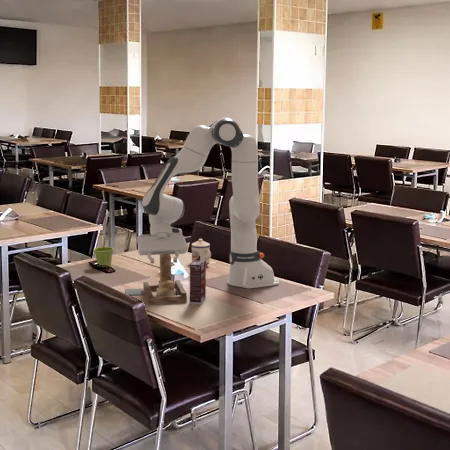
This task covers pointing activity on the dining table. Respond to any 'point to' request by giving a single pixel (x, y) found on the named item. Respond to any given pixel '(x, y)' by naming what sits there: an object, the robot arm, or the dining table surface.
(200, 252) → the teacup with lid
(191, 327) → the dining table surface
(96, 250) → the plant pot
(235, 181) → the robot arm
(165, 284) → the offcut top
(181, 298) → the tray
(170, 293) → the offcut low
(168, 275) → the slat
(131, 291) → the mat
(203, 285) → the supplement box
